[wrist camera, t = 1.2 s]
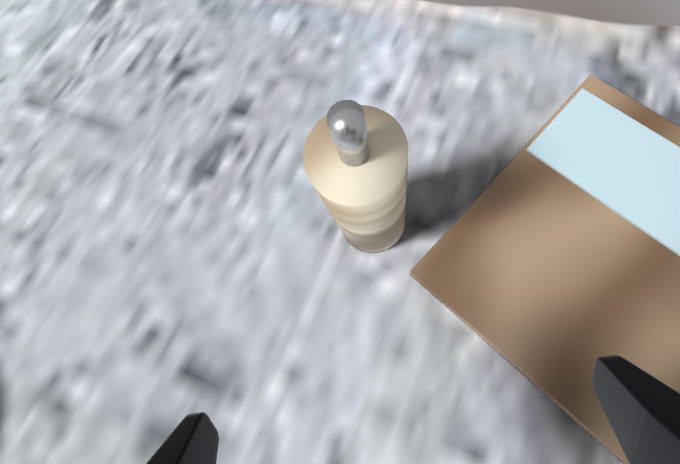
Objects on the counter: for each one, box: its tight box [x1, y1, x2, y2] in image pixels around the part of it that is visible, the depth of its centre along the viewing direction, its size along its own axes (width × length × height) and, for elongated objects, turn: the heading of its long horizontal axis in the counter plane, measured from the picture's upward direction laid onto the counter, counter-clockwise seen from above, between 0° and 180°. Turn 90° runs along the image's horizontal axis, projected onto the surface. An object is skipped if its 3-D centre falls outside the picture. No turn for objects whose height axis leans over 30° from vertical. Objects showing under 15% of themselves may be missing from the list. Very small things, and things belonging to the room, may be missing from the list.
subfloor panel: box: [410, 74, 680, 464], centre depth 20 cm, size 19×16×2 cm
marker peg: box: [303, 100, 408, 253], centre depth 18 cm, size 4×4×12 cm
